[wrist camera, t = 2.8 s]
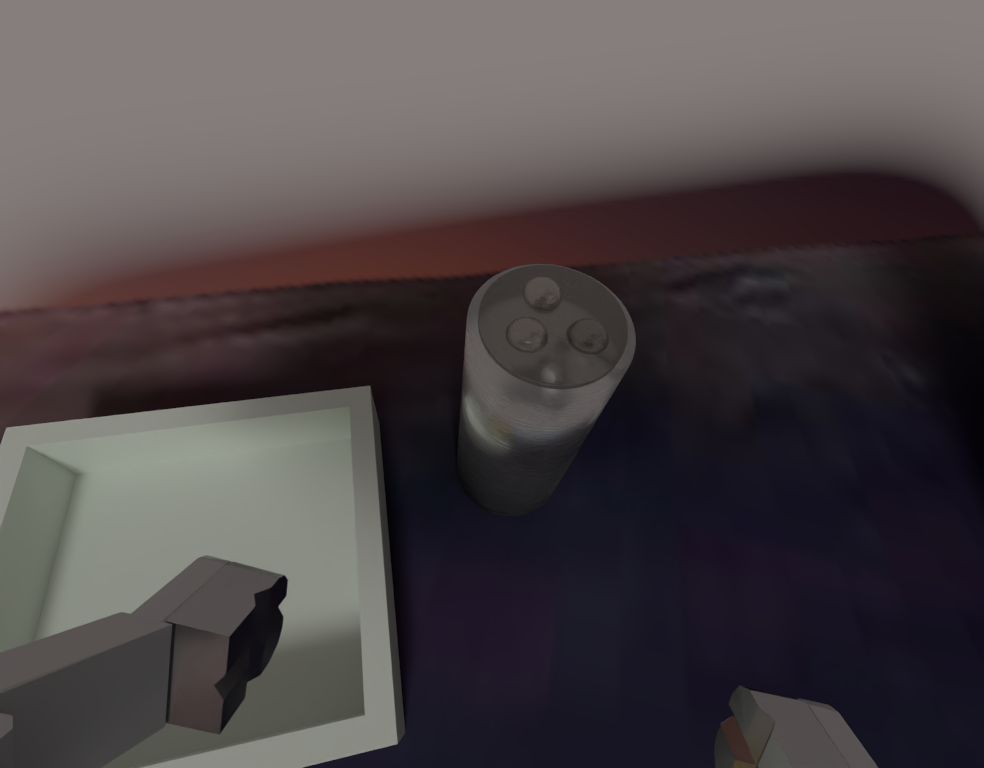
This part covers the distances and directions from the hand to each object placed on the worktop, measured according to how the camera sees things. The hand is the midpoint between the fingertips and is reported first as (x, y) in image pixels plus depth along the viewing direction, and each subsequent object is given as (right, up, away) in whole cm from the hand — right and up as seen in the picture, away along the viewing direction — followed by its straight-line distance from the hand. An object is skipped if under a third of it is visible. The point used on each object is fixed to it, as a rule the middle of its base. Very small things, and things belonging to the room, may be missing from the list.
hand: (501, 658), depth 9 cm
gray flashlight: (+1, +1, +17) cm, 17 cm away
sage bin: (-12, -4, +13) cm, 18 cm away
